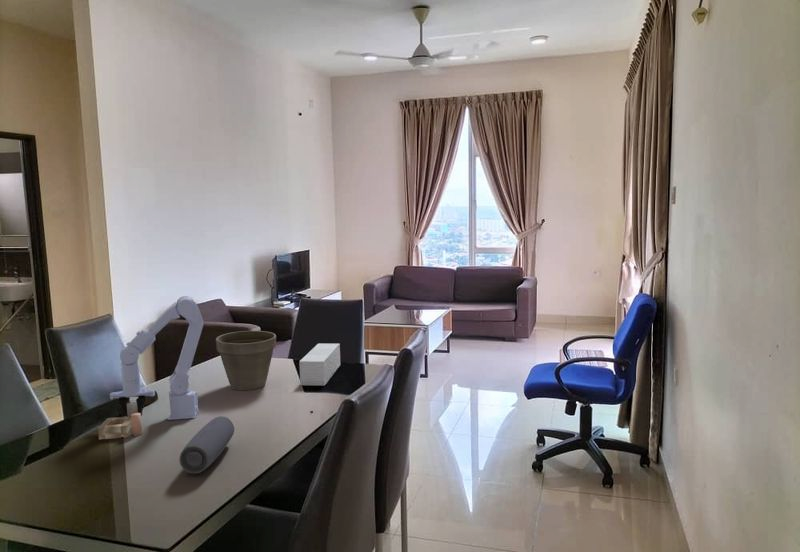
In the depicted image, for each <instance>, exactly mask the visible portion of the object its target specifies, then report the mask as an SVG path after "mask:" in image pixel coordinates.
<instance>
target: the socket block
mask: <svg viewBox="0 0 800 552" xmlns="http://www.w3.org/2000/svg"><path fill="white" fill-rule="evenodd" d="M97 430H98V440H109V439H110V440H111V439H120V438H121V437H124V438H128V437H130V435H131V434H132V433H131V432H132V422H131V416H130V417H126V416H119V417H118V416H117V417H116V416H115V417H107V418H106V419H105V420H104V421H103V422H102V423H101V424H100V425H99V426H98V428H97ZM130 433H131V434H130Z"/></svg>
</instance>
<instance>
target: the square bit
mask: <svg viewBox="0 0 800 552" xmlns="http://www.w3.org/2000/svg"><path fill="white" fill-rule="evenodd" d="M134 413H138V407H137V402H136V399H131V400H130V401H129V402H128V403H127V414H128V417H130V416H131V414H134Z"/></svg>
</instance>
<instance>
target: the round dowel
mask: <svg viewBox="0 0 800 552" xmlns="http://www.w3.org/2000/svg"><path fill="white" fill-rule="evenodd" d="M131 422H132V433H131V434H132V436H133V435H139V436H141V435H143V425H142V424H143V423H142V416H141V413H134V414H131ZM140 434H141V435H140Z"/></svg>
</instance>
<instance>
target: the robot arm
mask: <svg viewBox="0 0 800 552" xmlns="http://www.w3.org/2000/svg"><path fill="white" fill-rule="evenodd" d="M181 317H182V318H184V319H185V320H186V321H187V323H188V324H189V325H188V327H187V332H186V335H185V338H184V341H183V345H182V348H181V352H180V355H179V358H178V361H177V364H176V366H175V368H174V371H173V373H172V374H171V375H170V377H169V379H168V381H169V387H170V388H169V392H168V395H169V396H168V397H169V399H168V400H169V409H170V414H169V416H168V418H167V421H173V420H185V419H194V418H196V416H197V414H198V413H199V411H200V410H199V402H198V400H199V399H198V392H197V391H196V390H195V391H194V390H191V389H190V388H189V387H190V385H189V379H190V371H191V367H192V365H193V361H194V357H195V353H196V351H197V347H198V345H199V341H200V338H201V335H202V331H203V327H204V325H205V324H204V322H205V321H204V318H203V316H202V314H201V311H200V308H199V306H198V304H197V303H196V301H194V299H193V298H192V296H191V297H190V296H189V295H184V296H181V297H178V299H177V301H174V302H173V303H172V304H171V305H170V306H169V307H167V308H166V310H165V311H163V313H162V314H161V315H160V316H159V317H158V318H157V320H155V321H154V322H153V323H152V325H151V326H149V328H147V329H142V330H138V331H137V332H136V336H134V338H133V339H132V340H131V341H130V342H129V341H128V342H127V343H126V346H124V347H123V348H122V349H121V351H120V355H119V359H120V361H121V363H120V364H121V365H120V366H121V369H120V370H121V379H122V390H120V391H115V392H111V393H109V399H110V400H114V399H118V401H117V402H118V404H119V406H120V407H122V408H123V410H124V412H125V415H126V416H125V417H128V414H127V403H128V402H129V401H130V398H136V399H135V400H136V402H137V407H138V413H141V417H142V416H143V412H144V411H143V410H144V407H145V406H144V403H145V401H146V398H147V396H154V395H155V391H156V390H155V389H142V385H141V383H142V382H141V371H140V365H139V358H140V355H142V354H143V353H144V352H145V351H146V350H147V349H148V348H149V347H150V346H151V345H152V344H153V343H154V342H155V341H156V335H157V334H159V332H161V330H163V328H164V327H166V326H167V325H168V324H169V322H171V321H172V320H176V319H180V318H181Z"/></svg>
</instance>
